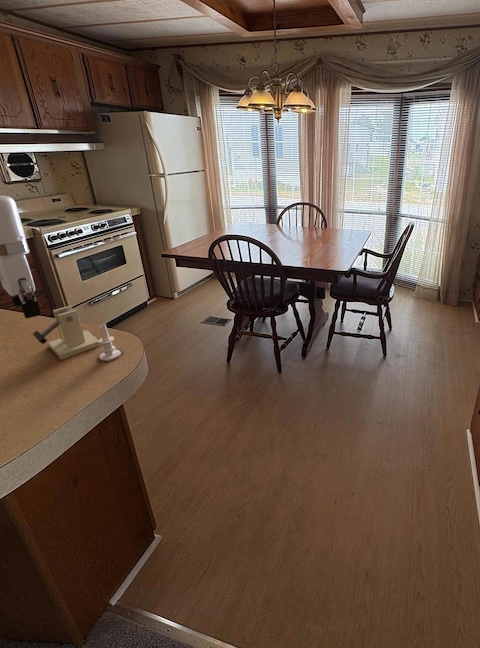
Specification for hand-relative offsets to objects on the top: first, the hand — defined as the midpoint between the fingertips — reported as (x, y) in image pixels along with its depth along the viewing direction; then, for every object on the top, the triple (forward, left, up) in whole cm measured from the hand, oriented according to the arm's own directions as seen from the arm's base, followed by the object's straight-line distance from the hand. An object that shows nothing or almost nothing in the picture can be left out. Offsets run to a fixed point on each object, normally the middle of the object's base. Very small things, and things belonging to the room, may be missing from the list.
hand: (27, 310), depth 90 cm
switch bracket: (+8, 0, -14) cm, 16 cm away
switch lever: (+5, 0, -7) cm, 9 cm away
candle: (+12, -13, -15) cm, 23 cm away
